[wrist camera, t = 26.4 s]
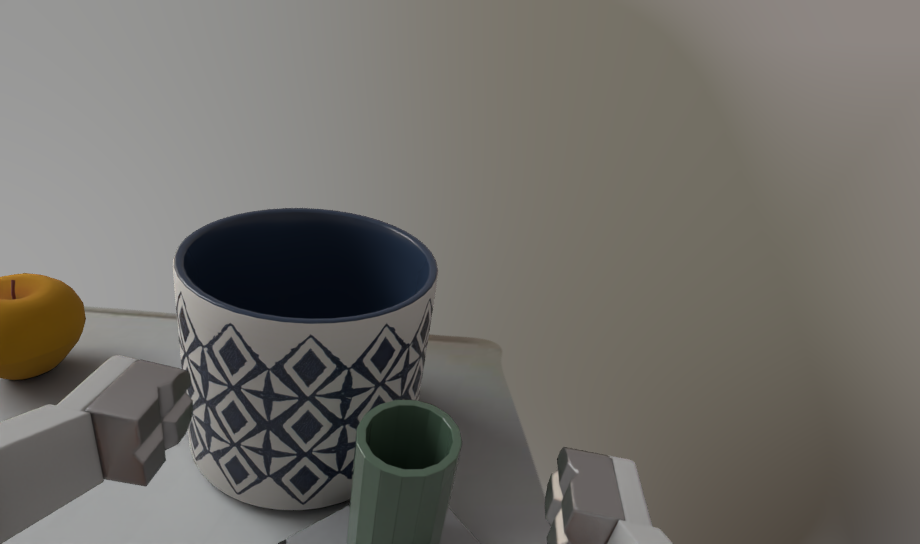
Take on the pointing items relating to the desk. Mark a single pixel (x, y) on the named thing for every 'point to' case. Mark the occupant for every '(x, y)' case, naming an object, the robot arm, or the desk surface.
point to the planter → (296, 345)
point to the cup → (402, 474)
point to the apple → (36, 324)
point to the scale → (330, 533)
